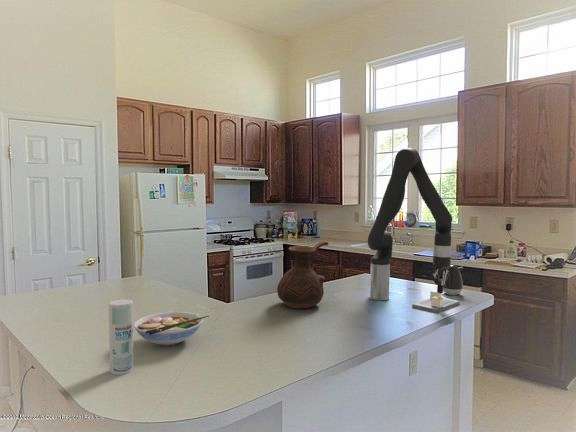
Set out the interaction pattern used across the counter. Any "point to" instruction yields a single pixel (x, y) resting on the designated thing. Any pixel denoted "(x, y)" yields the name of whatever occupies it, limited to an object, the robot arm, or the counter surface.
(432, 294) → the on breaker
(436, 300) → the block
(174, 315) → the ramen bowl
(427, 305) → the switch panel
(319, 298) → the jug
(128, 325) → the spray can
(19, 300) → the counter surface
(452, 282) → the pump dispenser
